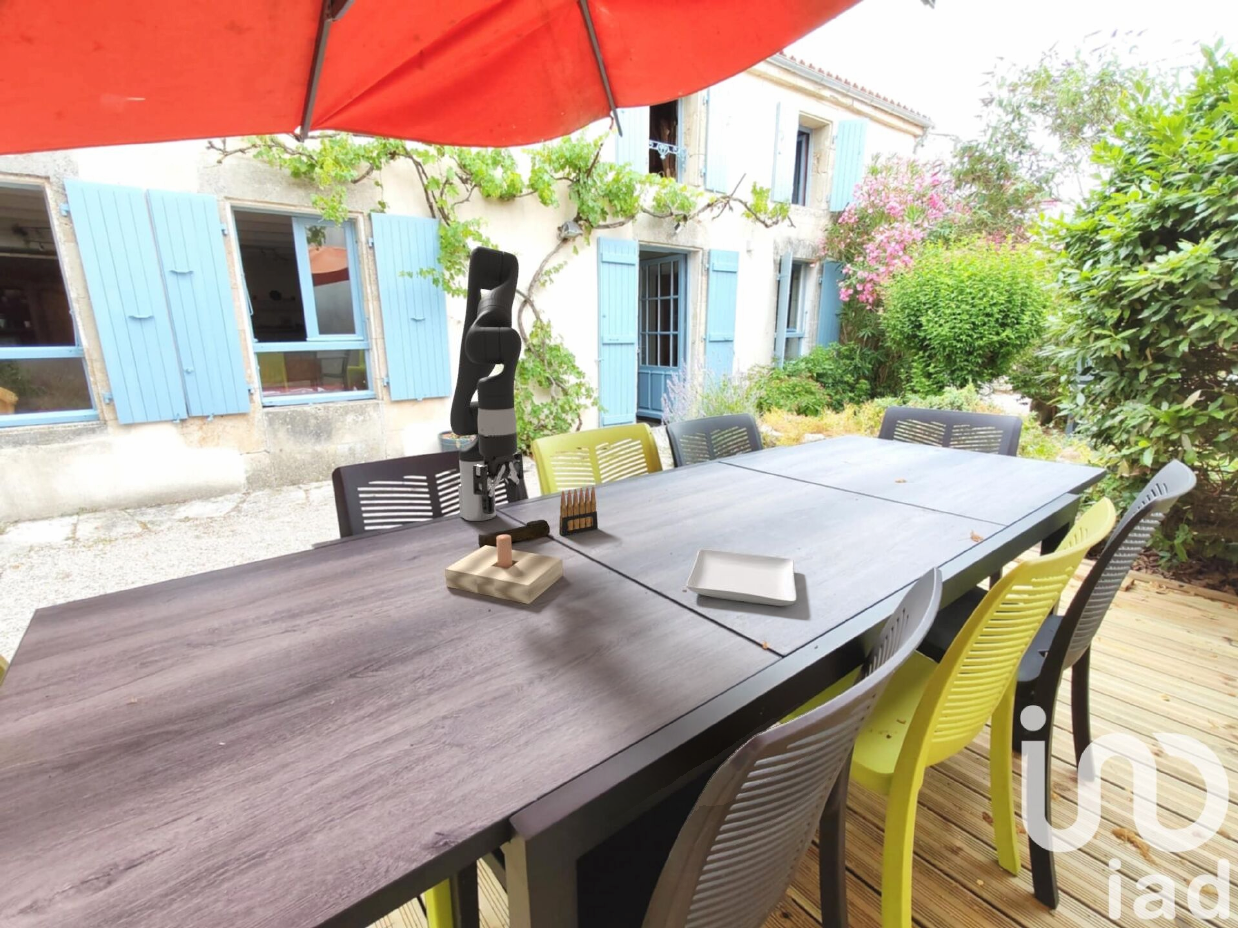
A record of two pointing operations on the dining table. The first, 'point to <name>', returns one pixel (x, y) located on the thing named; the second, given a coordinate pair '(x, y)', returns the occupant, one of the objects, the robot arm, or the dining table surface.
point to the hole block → (505, 574)
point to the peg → (504, 551)
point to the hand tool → (517, 533)
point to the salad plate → (743, 577)
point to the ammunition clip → (578, 513)
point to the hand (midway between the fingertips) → (500, 507)
